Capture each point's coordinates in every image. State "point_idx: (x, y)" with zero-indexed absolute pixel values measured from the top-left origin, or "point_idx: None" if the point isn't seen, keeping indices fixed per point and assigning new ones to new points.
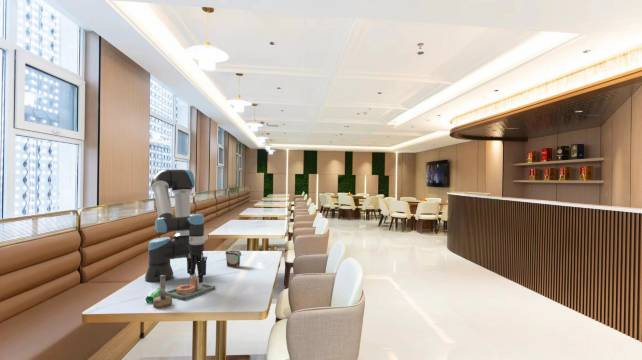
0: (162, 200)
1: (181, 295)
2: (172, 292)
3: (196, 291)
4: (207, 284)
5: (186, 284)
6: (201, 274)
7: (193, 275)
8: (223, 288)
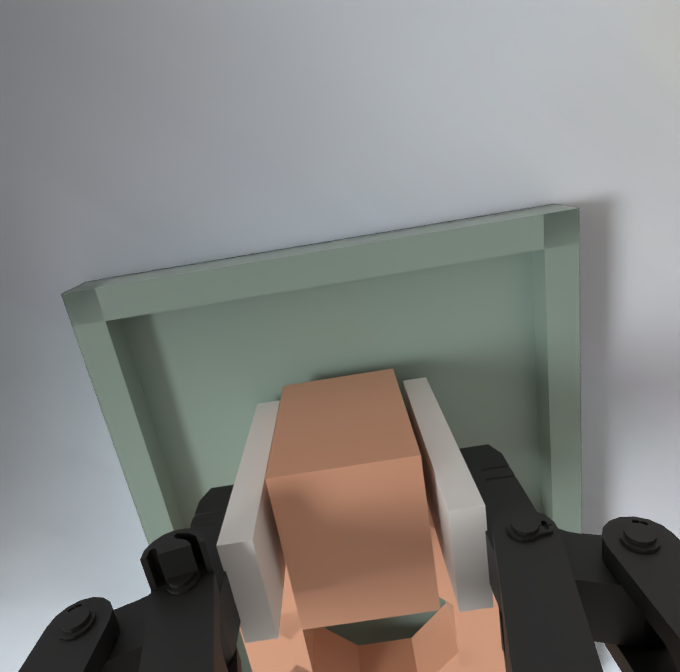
0: None
1: None
2: (243, 661)
3: None
4: (372, 243)
5: None
6: (648, 657)
7: (267, 594)
8: (647, 79)
